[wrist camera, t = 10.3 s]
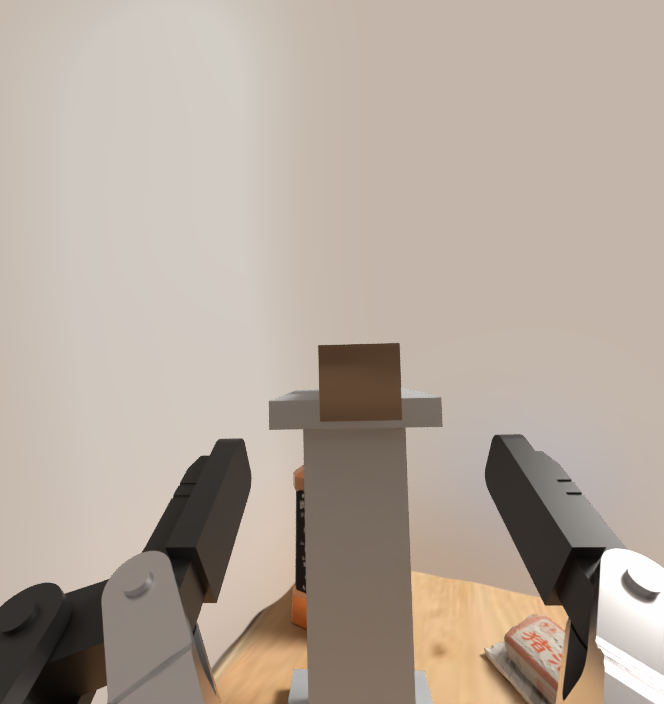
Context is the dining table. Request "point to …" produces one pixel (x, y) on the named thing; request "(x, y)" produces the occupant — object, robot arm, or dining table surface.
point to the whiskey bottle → (300, 554)
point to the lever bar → (360, 382)
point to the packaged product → (531, 658)
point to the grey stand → (357, 553)
